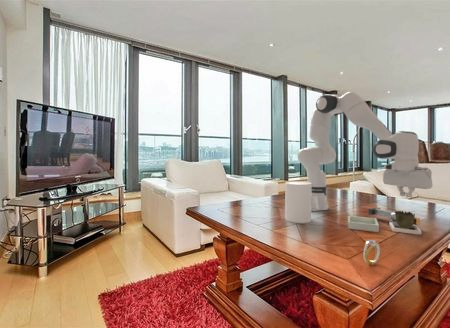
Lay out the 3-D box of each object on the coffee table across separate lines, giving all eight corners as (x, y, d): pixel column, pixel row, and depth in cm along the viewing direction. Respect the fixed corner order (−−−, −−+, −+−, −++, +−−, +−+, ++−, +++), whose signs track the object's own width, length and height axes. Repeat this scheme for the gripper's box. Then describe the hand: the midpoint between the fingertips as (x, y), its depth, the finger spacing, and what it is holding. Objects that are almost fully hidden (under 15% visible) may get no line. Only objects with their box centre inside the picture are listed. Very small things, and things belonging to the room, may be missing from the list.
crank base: (391, 224, 122) (391, 220, 122) (389, 222, 126) (389, 218, 126) (404, 226, 119) (404, 222, 119) (402, 223, 124) (402, 219, 124)
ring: (374, 260, 84) (374, 237, 83) (383, 264, 81) (383, 240, 80) (359, 264, 81) (360, 240, 81) (368, 268, 78) (369, 243, 78)
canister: (283, 216, 141) (283, 181, 140) (307, 216, 140) (307, 181, 139) (287, 223, 127) (288, 184, 126) (314, 223, 127) (314, 184, 125)
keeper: (392, 231, 112) (392, 228, 112) (389, 225, 122) (389, 222, 122) (421, 234, 108) (421, 231, 108) (415, 227, 117) (415, 224, 117)
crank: (422, 224, 115) (422, 215, 115) (413, 225, 113) (413, 216, 112) (376, 212, 136) (376, 205, 136) (368, 214, 134) (368, 206, 133)
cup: (417, 232, 110) (418, 214, 110) (399, 231, 112) (399, 214, 111) (409, 227, 118) (409, 210, 117) (391, 226, 119) (392, 210, 119)
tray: (348, 228, 117) (348, 222, 117) (348, 221, 128) (348, 215, 128) (378, 232, 112) (378, 225, 111) (376, 224, 123) (376, 218, 123)
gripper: (436, 167, 104) (435, 199, 105) (390, 165, 124) (390, 192, 124) (426, 167, 102) (425, 200, 103) (381, 165, 122) (380, 193, 122)
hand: (405, 196), depth 114 cm, fingers closed
